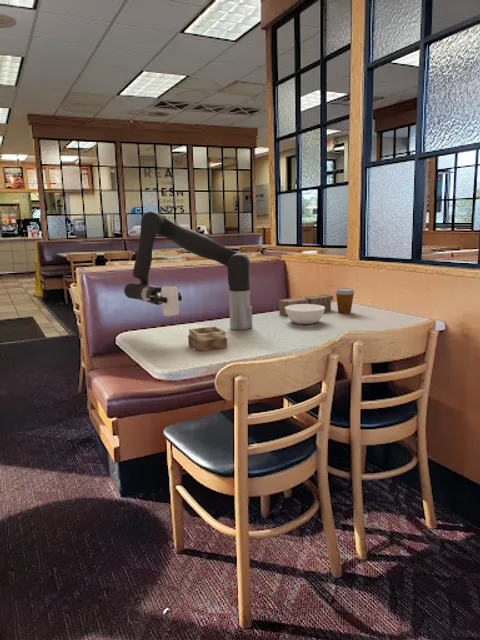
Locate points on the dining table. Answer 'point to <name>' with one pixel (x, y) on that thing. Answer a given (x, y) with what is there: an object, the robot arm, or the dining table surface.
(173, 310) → the can
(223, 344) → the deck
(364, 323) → the dining table surface
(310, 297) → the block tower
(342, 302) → the disposable coffee cup
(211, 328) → the square wooden tray
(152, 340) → the dining table surface
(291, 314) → the bowl
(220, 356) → the dining table surface
